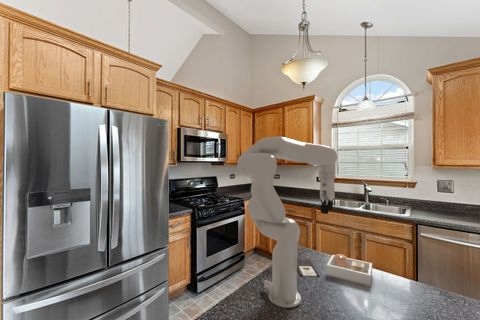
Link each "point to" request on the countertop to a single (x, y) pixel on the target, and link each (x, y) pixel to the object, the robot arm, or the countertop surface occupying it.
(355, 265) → the wood cube
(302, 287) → the countertop surface
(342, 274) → the tote
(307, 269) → the chocolate bar
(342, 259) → the terracotta cylinder
